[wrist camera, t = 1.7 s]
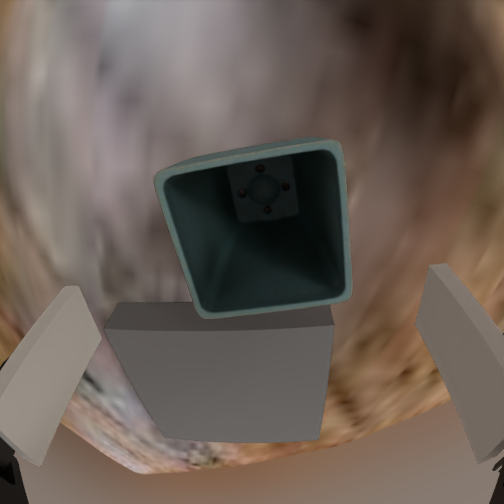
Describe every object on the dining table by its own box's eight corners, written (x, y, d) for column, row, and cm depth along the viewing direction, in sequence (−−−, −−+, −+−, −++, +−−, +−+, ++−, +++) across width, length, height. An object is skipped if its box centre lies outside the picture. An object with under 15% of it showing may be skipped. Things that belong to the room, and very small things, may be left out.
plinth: (327, 295, 27) (334, 325, 24) (316, 414, 36) (318, 439, 33) (118, 302, 29) (103, 328, 25) (170, 414, 38) (164, 437, 34)
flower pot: (219, 249, 25) (198, 322, 18) (192, 143, 21) (149, 173, 14) (327, 233, 24) (353, 302, 16) (312, 122, 20) (342, 137, 12)
